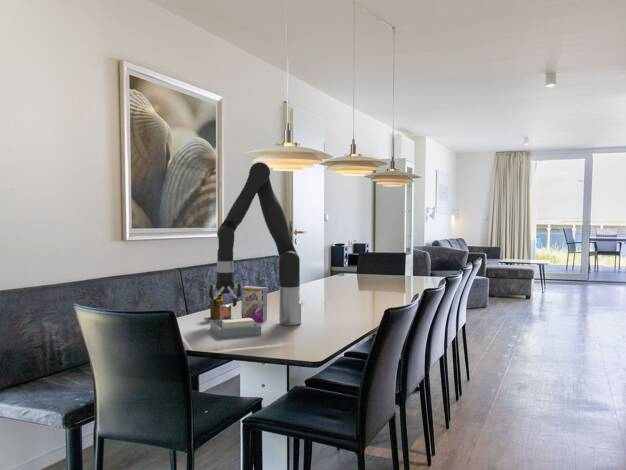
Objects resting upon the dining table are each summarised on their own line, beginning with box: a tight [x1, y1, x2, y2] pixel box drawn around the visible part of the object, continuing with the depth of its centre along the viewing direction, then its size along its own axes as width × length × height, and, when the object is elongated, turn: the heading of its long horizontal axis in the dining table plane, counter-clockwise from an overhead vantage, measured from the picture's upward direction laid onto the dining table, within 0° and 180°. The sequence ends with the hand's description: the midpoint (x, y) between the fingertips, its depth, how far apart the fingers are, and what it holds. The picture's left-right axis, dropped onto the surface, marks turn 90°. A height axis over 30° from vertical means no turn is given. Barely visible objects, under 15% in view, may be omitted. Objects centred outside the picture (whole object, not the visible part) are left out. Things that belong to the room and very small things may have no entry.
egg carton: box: [222, 318, 254, 329], centre depth 209 cm, size 12×5×6 cm, turn 113°
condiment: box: [204, 292, 224, 321], centre depth 244 cm, size 7×8×12 cm
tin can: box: [220, 304, 232, 320], centre depth 229 cm, size 5×5×9 cm
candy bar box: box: [241, 285, 268, 323], centre depth 236 cm, size 11×5×16 cm, turn 70°
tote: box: [209, 317, 262, 340], centre depth 213 cm, size 17×18×4 cm
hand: (224, 306), depth 229 cm, fingers open, 8 cm apart
